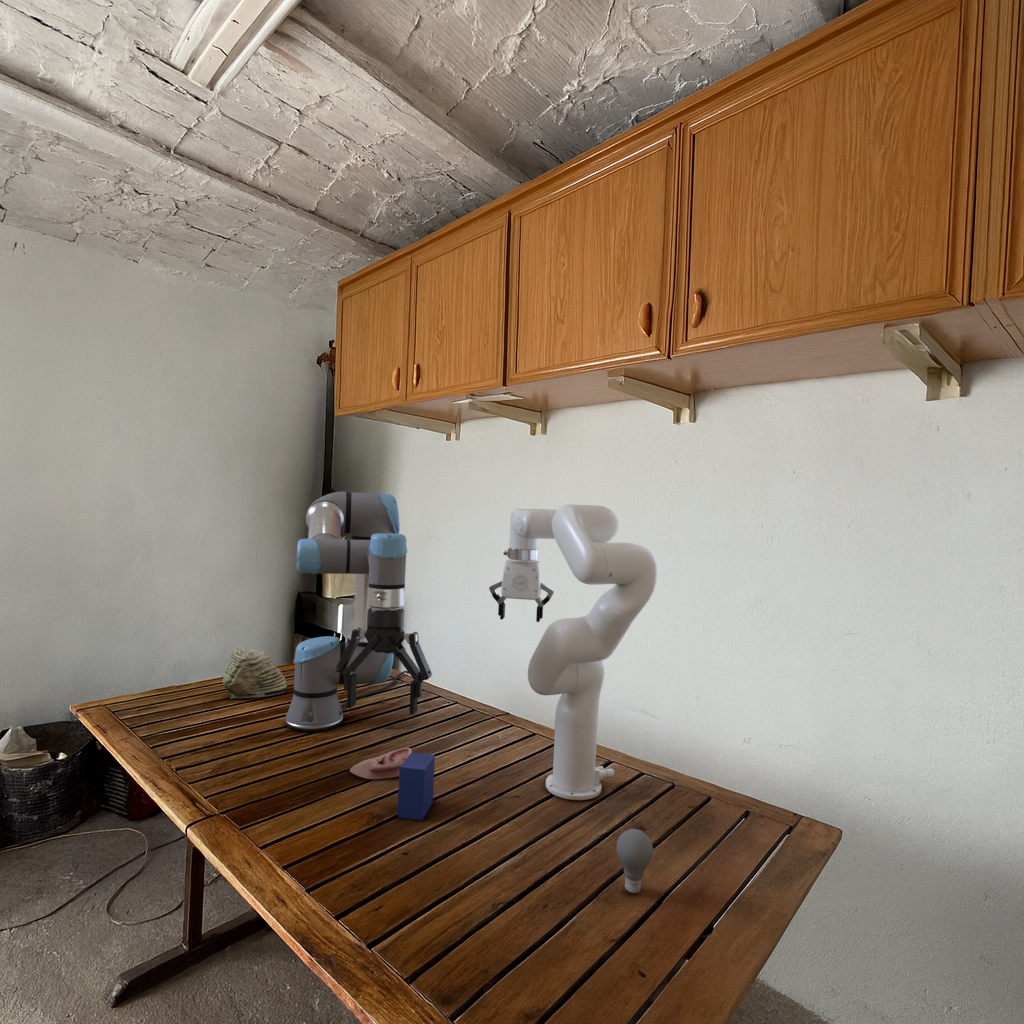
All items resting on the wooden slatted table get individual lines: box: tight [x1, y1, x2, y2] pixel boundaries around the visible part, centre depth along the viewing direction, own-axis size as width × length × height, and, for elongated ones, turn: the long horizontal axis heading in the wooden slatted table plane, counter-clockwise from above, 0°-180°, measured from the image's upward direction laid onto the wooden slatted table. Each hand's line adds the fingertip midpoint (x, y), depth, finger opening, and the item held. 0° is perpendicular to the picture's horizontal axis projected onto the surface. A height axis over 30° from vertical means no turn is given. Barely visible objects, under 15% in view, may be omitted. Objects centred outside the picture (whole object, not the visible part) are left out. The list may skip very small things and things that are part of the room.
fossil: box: [222, 646, 288, 699], centre depth 198 cm, size 9×18×15 cm, turn 132°
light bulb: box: [615, 828, 654, 894], centre depth 106 cm, size 6×6×10 cm
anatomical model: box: [349, 747, 413, 780], centre depth 148 cm, size 13×4×12 cm
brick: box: [396, 752, 436, 821], centre depth 130 cm, size 5×8×10 cm
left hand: (382, 709), depth 132 cm, fingers open, 13 cm apart
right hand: (520, 619), depth 168 cm, fingers open, 9 cm apart
